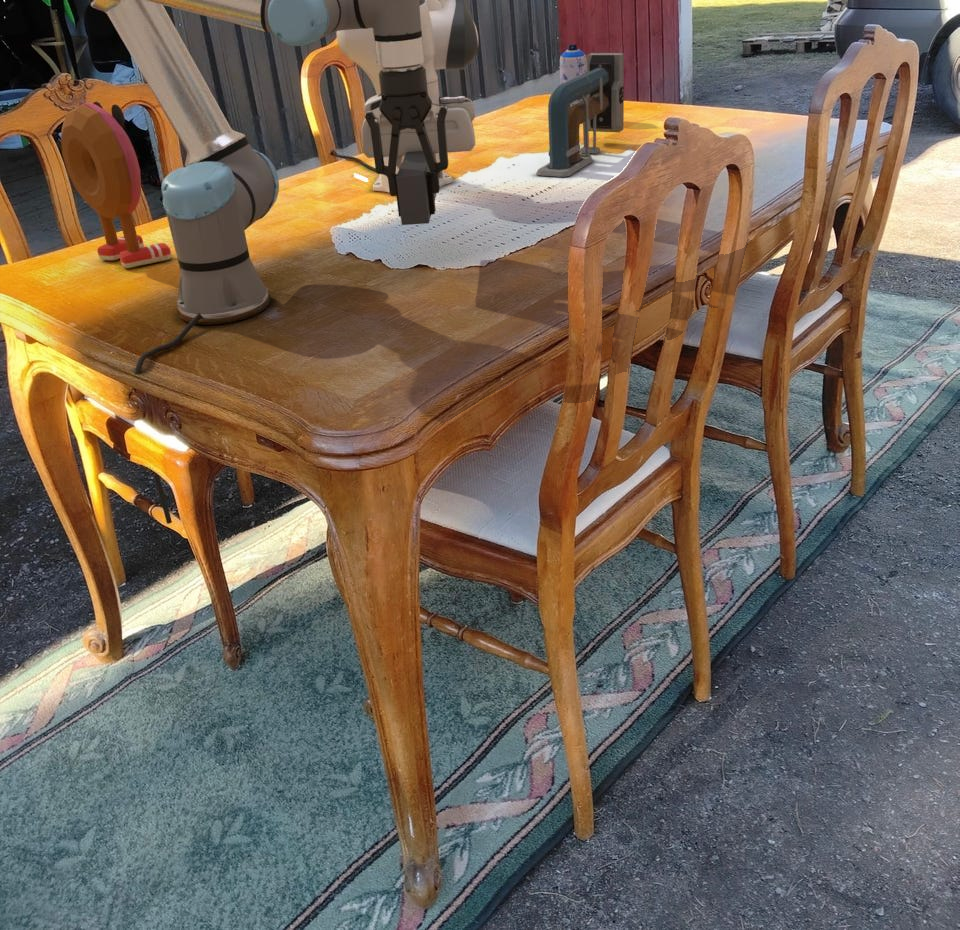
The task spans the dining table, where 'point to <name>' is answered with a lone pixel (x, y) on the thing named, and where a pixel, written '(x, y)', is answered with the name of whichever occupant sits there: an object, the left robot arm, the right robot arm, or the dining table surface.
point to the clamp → (584, 113)
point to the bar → (413, 189)
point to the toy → (108, 179)
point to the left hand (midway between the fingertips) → (417, 212)
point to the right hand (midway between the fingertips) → (422, 178)
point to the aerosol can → (572, 66)
